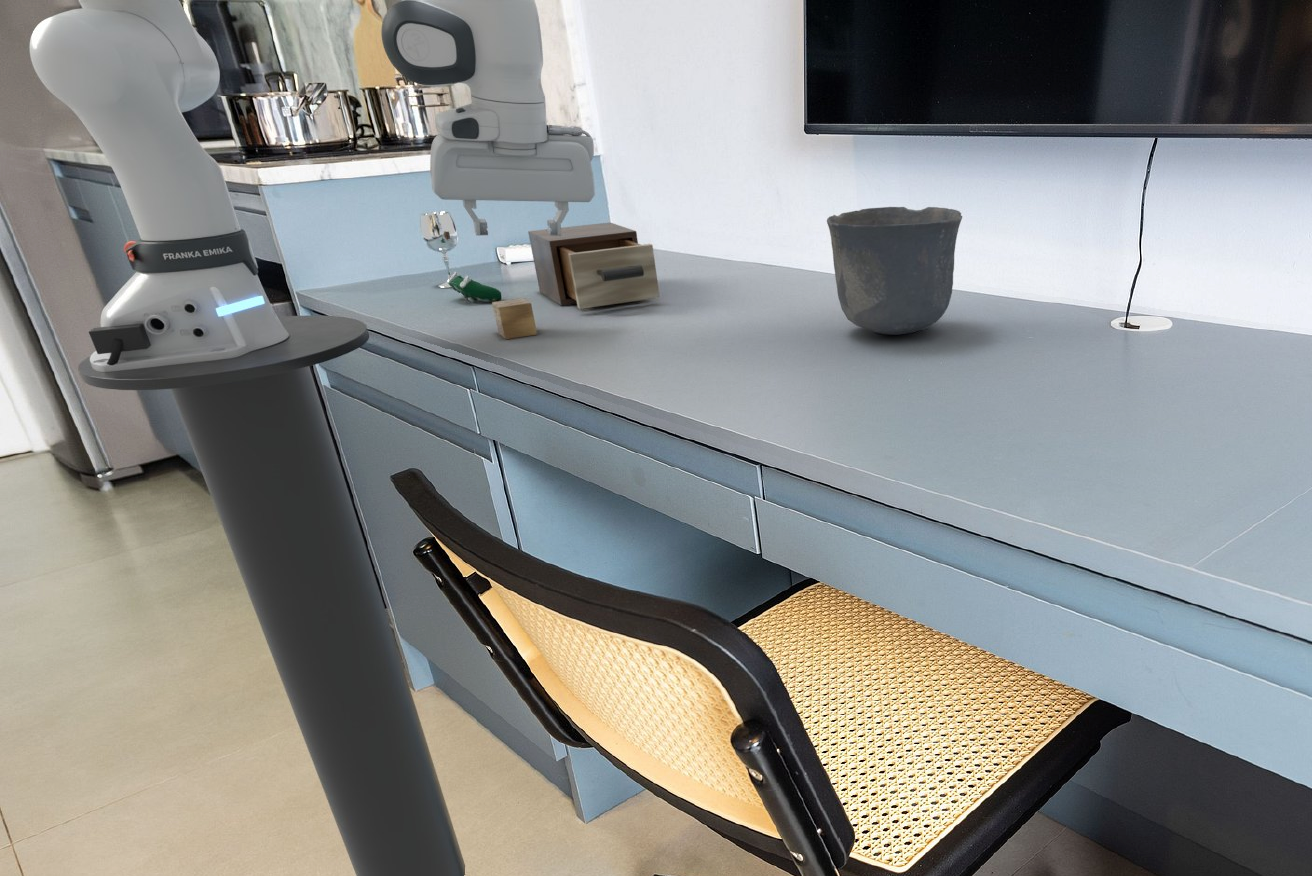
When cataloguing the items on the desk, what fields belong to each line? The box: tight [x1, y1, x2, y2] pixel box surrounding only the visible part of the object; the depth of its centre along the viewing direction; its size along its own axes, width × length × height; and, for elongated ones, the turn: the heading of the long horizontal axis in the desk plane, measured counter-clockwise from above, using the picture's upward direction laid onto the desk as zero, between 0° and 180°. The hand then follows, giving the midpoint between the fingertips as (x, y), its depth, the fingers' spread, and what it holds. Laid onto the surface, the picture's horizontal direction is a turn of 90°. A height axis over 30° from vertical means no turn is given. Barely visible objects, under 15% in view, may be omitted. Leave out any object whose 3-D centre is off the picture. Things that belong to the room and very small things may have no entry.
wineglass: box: [419, 211, 459, 289], centre depth 174 cm, size 6×6×12 cm
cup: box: [826, 206, 963, 336], centre depth 129 cm, size 18×18×15 cm
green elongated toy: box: [448, 271, 502, 303], centre depth 163 cm, size 9×4×6 cm
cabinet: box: [527, 221, 639, 307], centre depth 163 cm, size 14×14×10 cm
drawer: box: [556, 239, 661, 310], centre depth 154 cm, size 17×13×8 cm
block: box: [491, 297, 538, 340], centre depth 140 cm, size 4×4×4 cm
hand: (518, 234), depth 134 cm, fingers open, 8 cm apart
